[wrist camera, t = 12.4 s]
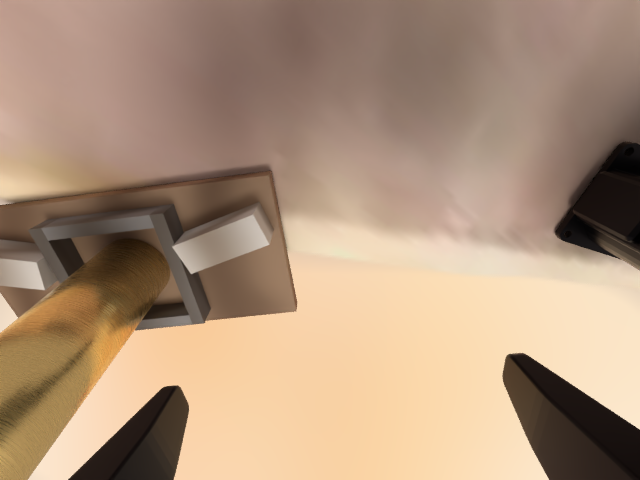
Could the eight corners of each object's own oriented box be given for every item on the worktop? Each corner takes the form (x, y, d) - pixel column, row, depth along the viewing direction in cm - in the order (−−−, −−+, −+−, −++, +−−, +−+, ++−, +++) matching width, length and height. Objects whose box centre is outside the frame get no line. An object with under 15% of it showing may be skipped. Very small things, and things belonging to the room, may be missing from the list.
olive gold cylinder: (181, 262, 21) (26, 476, 10) (153, 304, 23) (-5, 528, 12) (115, 226, 20) (-146, 424, 9) (91, 273, 21) (-153, 490, 10)
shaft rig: (271, 170, 19) (263, 185, 17) (297, 302, 24) (294, 331, 21) (-38, 210, 20) (-92, 229, 18) (43, 329, 25) (10, 359, 22)
